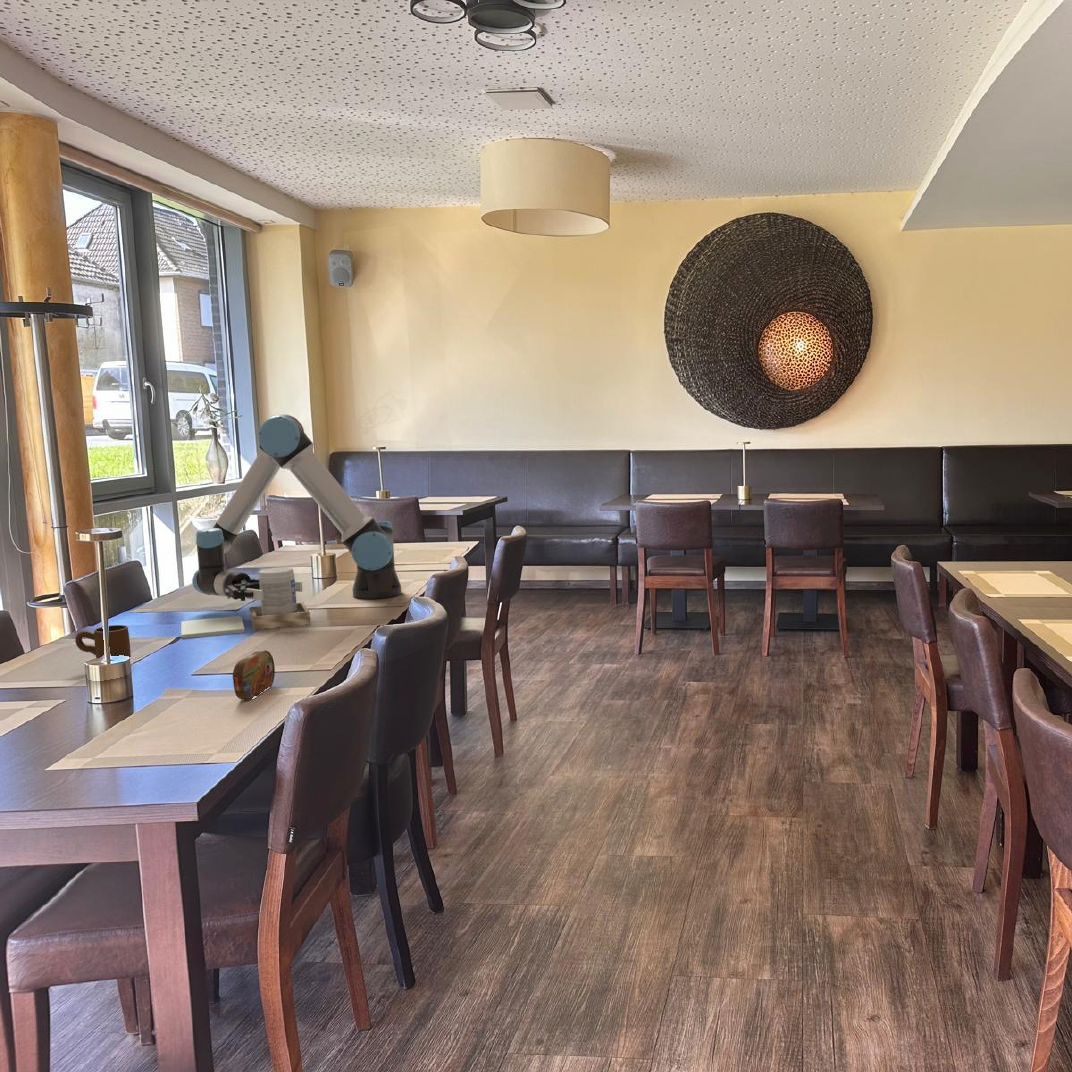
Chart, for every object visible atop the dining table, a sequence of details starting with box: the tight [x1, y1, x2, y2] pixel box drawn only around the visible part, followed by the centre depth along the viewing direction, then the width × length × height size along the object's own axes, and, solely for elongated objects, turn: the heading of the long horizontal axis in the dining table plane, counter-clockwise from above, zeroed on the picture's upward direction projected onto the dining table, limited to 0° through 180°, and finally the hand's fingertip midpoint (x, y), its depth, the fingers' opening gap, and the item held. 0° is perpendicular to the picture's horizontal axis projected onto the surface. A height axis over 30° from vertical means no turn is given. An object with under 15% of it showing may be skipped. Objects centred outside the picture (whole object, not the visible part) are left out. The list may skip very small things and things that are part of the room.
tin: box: [232, 650, 276, 701], centre depth 215 cm, size 15×3×8 cm, turn 170°
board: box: [180, 615, 245, 640], centre depth 280 cm, size 16×18×1 cm
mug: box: [74, 624, 132, 660], centre depth 241 cm, size 12×8×9 cm, turn 97°
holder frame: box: [249, 601, 311, 630], centre depth 286 cm, size 15×15×4 cm
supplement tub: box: [258, 567, 297, 616], centre depth 285 cm, size 10×10×15 cm
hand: (282, 591), depth 283 cm, fingers open, 13 cm apart
